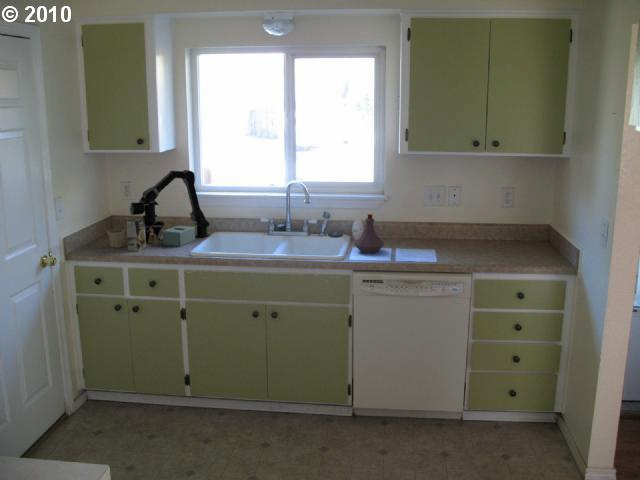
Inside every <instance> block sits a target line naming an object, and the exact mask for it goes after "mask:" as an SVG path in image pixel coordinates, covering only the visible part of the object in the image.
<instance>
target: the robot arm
mask: <svg viewBox="0 0 640 480" xmlns="http://www.w3.org/2000/svg"><path fill="white" fill-rule="evenodd" d="M175 179H182V181H183V183H184V184H185V187H186V189H187V193H188V198H189V199H188V200H189V202H190V206H191V212H189V215H190V220H191V221H192V222H193V223H194V224H195V226H196V234H195V238H206V237H210V236H209V235H210V234H208V227H209V226H210V222H209V221H208V220H207V219H206V216H205V214H204V212H203V210H202V209H201V206H200V203H199V202H200V201H199V199H198V195H197V190H196V187H195V183H196V175H195V172H194V171H192V170H188V169H184V170H181V171H180V170H174V169H173V170H170V171H169V173H167V174H166V175H165V176H164V177H163V178H162V179H160V180H159V181H158V182H157V183H156V184H155V185H153V186H152V187H150V188H147V189H146V190H144V191H143V192H142V195H141V197H140V200H139V201H138V202H134V201H133V202H130V208H129V211H130V214H131V215H132V216H136V215H143V214H144V215H143V216H142V218H141V219H145V237H146V242H148V241H149V236H150V233H151V230H150V229H151V228H152V231H153V234H156V240H158V237H159V234H160V233H161V232H162V231H161V230H162V228H163V226H165V221H164V220H161V219H160V220H159V219H156V217H158V215H157V214H156V206H159V203H158V202H157V200H156V199H157V198H158V196H159V194H160V193H161V191H163V190H164V189H165V188H166V187H167V186H169V184H171V183H172V182H173V181H174V180H175ZM138 218H139V217H137V218H135V219H138Z"/></svg>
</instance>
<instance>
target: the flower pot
mask: <svg viewBox="0 0 640 480" xmlns="http://www.w3.org/2000/svg"><path fill="white" fill-rule="evenodd" d="M125 232H126V230H125V229H119V228H118V229H110V230H106V233H107V235H108V238H109V243H110V248H115V249H116V248H117V249H118V248H122V247H123V246H124V236H125Z"/></svg>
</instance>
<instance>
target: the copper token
mask: <svg viewBox="0 0 640 480" xmlns="http://www.w3.org/2000/svg"><path fill="white" fill-rule="evenodd" d="M157 240H158V239H156V234H154V233H151V232H150V236H149V241H148V242H146V244H156V242H157Z"/></svg>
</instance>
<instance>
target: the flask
mask: <svg viewBox="0 0 640 480" xmlns="http://www.w3.org/2000/svg"><path fill="white" fill-rule="evenodd" d="M364 221H365V223H366V224H365V228H364V232H363V234H361V236H360V237H359V238H358V239H357V240H356V241H355V242H354V243H353V245H354V246H355V248H357V249H358V251H361V252H360V253H362V252H363V254H367V253H373V254H377V253H378V252H380V250H381V249H382V248H383V247H384V246H385V242H384V241H383V240H382V239H381V238H380V237H379V236H378V235H377V233H376V229H375V226H374V222H375V219H374V218H373V214H370V213H369V214H367V218H366V219H365V220H364ZM376 252H377V253H376Z"/></svg>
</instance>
